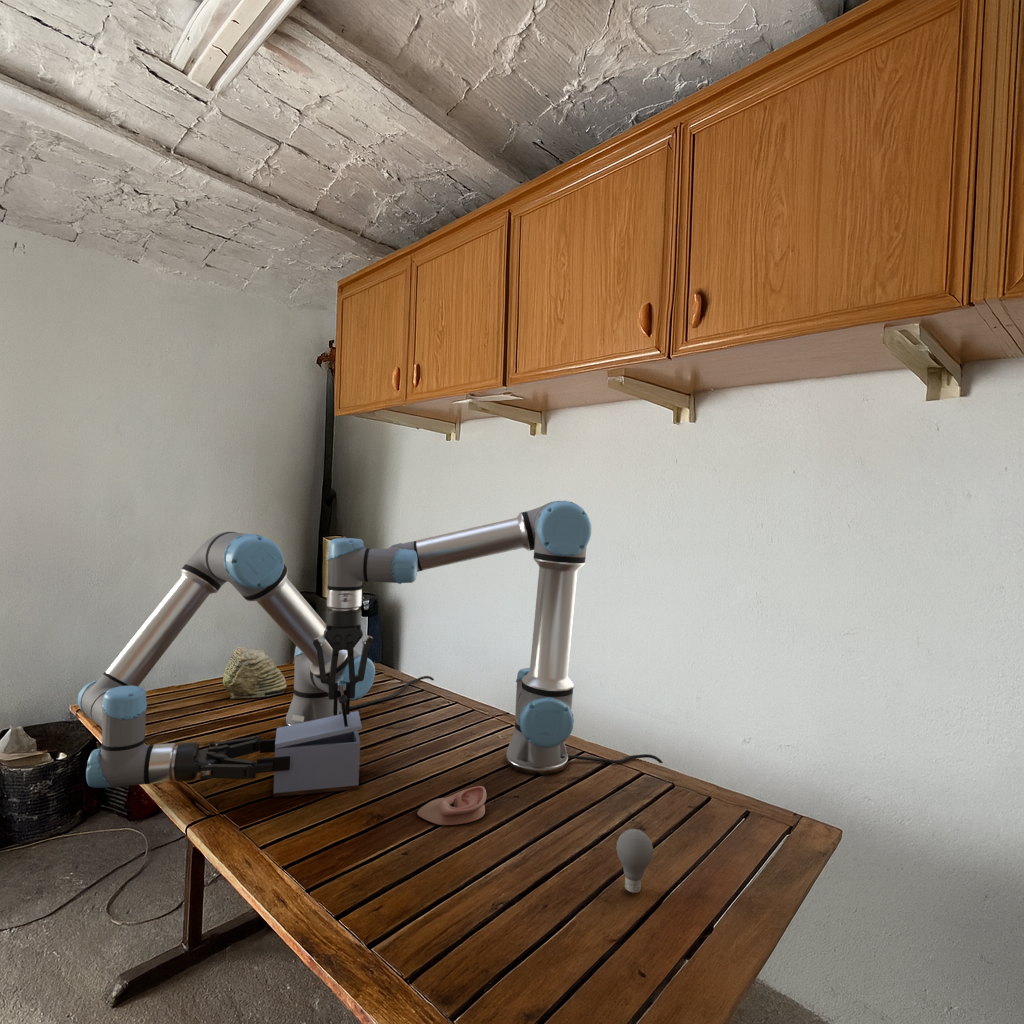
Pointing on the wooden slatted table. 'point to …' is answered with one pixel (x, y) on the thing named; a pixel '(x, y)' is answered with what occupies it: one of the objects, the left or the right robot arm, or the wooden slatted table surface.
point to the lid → (320, 726)
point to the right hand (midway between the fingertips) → (341, 712)
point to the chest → (319, 766)
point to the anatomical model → (456, 807)
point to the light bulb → (634, 857)
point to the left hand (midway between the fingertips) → (290, 753)
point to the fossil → (252, 674)
